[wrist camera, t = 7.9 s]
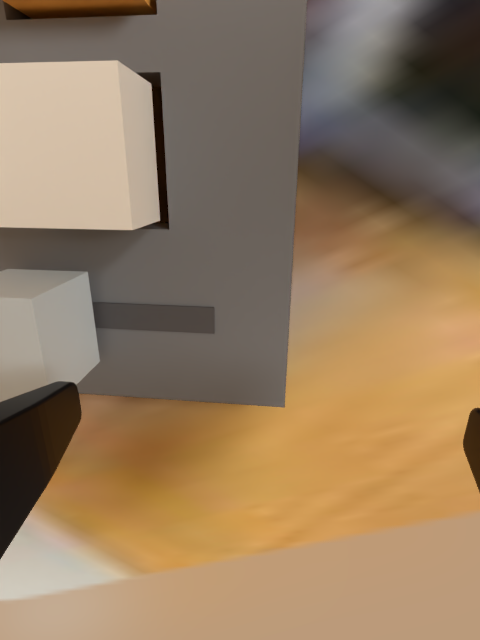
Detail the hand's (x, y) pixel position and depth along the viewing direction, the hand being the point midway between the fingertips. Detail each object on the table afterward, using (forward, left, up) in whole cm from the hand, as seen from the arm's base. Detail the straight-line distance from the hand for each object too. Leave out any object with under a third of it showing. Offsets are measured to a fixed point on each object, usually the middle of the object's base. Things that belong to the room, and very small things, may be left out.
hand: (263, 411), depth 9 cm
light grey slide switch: (+8, 0, -5) cm, 9 cm away
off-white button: (+6, -6, -5) cm, 10 cm away
